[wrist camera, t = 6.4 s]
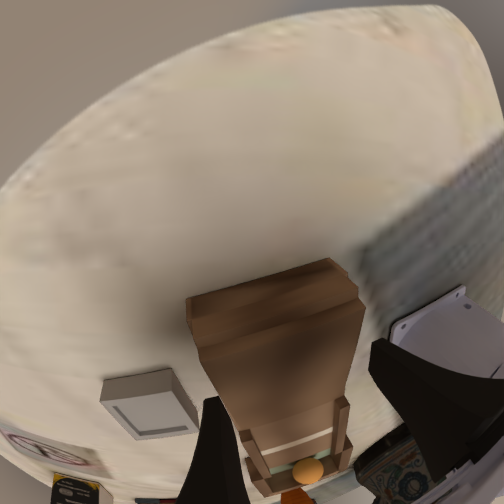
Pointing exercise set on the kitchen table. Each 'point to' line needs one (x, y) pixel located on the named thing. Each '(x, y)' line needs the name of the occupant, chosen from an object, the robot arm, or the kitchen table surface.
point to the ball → (308, 470)
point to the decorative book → (154, 501)
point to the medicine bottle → (78, 491)
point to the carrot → (295, 497)
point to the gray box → (150, 405)
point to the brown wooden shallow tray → (283, 366)
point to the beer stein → (395, 469)
